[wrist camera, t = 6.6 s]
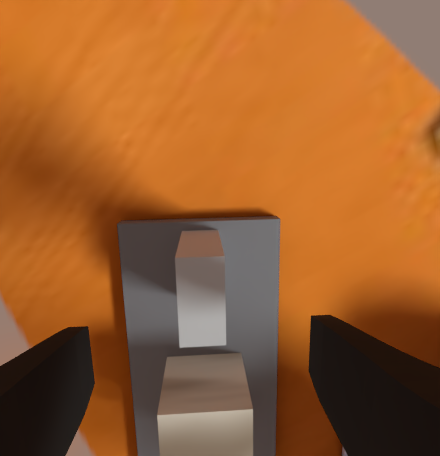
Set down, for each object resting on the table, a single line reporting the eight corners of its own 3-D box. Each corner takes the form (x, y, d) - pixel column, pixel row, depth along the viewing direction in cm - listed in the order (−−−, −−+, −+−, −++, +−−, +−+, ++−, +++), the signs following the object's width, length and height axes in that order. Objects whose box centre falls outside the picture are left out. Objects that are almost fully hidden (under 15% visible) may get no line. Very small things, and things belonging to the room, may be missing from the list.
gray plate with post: (271, 465, 23) (296, 573, 17) (143, 475, 22) (123, 588, 16) (275, 215, 19) (310, 241, 13) (121, 220, 18) (84, 249, 12)
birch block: (241, 415, 20) (252, 485, 16) (171, 420, 20) (162, 492, 16) (241, 352, 19) (252, 409, 15) (166, 356, 19) (156, 415, 15)
